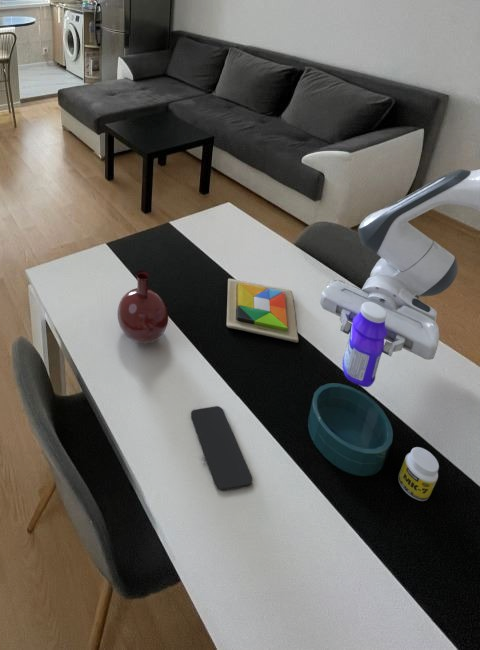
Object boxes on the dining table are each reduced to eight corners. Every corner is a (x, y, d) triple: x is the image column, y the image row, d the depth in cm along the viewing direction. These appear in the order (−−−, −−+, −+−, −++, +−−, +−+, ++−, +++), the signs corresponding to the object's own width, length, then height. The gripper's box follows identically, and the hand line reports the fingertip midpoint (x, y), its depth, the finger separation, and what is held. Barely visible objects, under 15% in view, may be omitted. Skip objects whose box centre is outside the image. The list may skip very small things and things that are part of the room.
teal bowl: (397, 446, 86) (405, 423, 83) (364, 493, 79) (372, 470, 76) (328, 393, 96) (334, 371, 94) (294, 430, 90) (299, 408, 87)
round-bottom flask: (144, 365, 105) (144, 303, 98) (107, 332, 115) (105, 273, 107) (178, 334, 113) (180, 275, 105) (141, 306, 122) (141, 250, 115)
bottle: (341, 353, 93) (356, 291, 86) (373, 364, 90) (390, 302, 83) (340, 381, 87) (356, 317, 80) (374, 394, 84) (393, 329, 77)
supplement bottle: (395, 486, 80) (405, 458, 77) (400, 466, 83) (411, 438, 80) (427, 508, 76) (439, 480, 73) (431, 486, 79) (443, 458, 76)
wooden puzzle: (226, 330, 113) (227, 321, 112) (227, 280, 130) (228, 271, 128) (298, 346, 108) (300, 336, 106) (290, 292, 124) (292, 283, 123)
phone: (221, 405, 94) (255, 483, 81) (221, 407, 95) (254, 485, 81) (189, 410, 94) (217, 489, 80) (188, 412, 94) (217, 492, 80)
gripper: (334, 266, 99) (311, 301, 90) (447, 315, 85) (433, 361, 76) (329, 288, 101) (307, 323, 92) (439, 338, 87) (425, 385, 78)
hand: (365, 341), depth 84 cm, fingers closed on bottle, 6 cm apart
